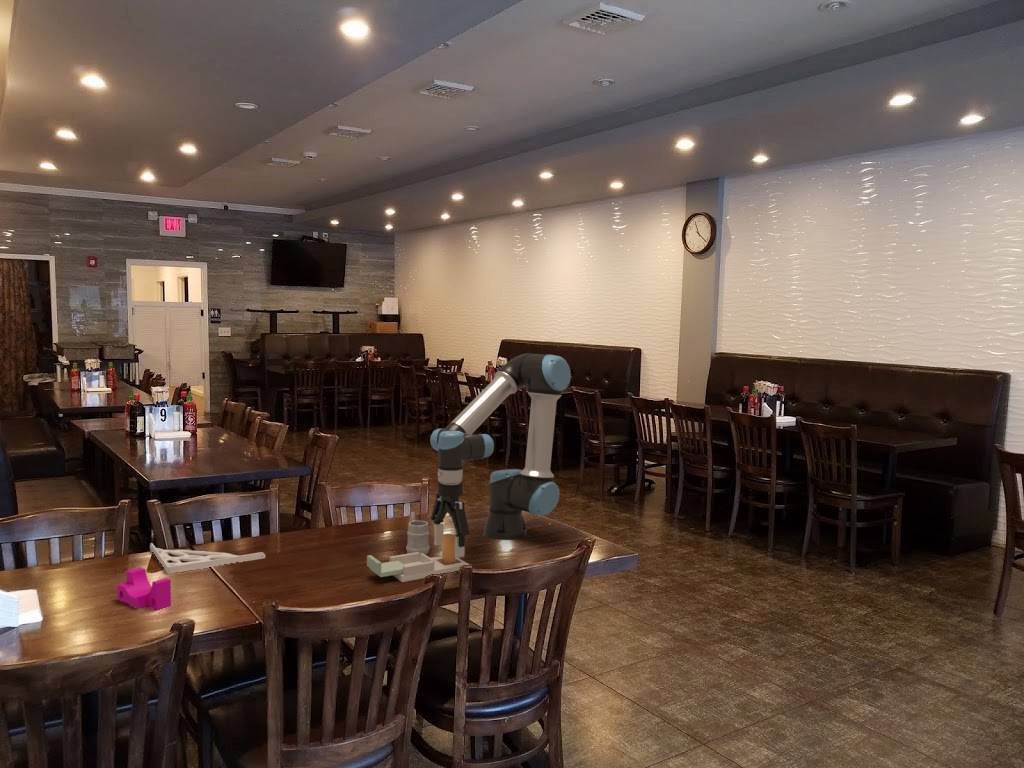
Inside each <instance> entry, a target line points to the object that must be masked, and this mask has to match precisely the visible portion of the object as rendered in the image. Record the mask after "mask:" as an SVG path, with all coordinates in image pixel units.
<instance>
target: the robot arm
mask: <svg viewBox="0 0 1024 768" xmlns="http://www.w3.org/2000/svg"><path fill="white" fill-rule="evenodd" d="M571 375H572V374H571V368H570V366H569V363H567V360H566V359H565V358H563V357H562V356H560V355H554V354H543V353H542V354H541V353H529V352H528V353H522V354H519V355H518V356H515V357H514V358H512V359H511V360H509V361H507V362H506V363H505V364H504V365H502V367H500V368H499V369H498V371H496V372H495V374H494V376H493V377H494V379H492V380H491V382H490V383H489V384H488V385H487V386H486V387H485V388H484V389H482V390H481V391H480V393H478V394H477V396H475V397H474V398H473V400H471V402H470V403H469V404H468V405H466V407H464V409H463V410H462V411H461V412H460V413H459V414H458V415H457V416H456V417H455V418H454V419H453V420H452V421H451V422H450V423H449V424H448V425H447V426H446V427H445V428H444V427H443V428H437V429H434V430H433V431H432V433H431V435H430V440H429V441H430V445H431V448H432V449H434V450H435V451H437V454H438V455H437V458H438V459H437V473H436V474H437V481H438V483H437V493H436V494H435V501H434V504H433V505H434V506H433V508H432V512H431V516H430V520H431V521H433V524H434V542H433V543H434V546H440V545H443V535H444V528H445V527H444V523H445V522H444V519H445V518H446V516H447V514H448V515H449V517H451V520H452V522H453V523H452V524H453V526H454V529H455V532H456V534H455V535H456V540H455V557H456V558H464V557H465V549H466V548H465V547H466V546H465V542H466V536H470V530H469V525H468V519H467V514H466V511H465V502H464V501H460V500H459V497H460V496H462V495H463V487H464V486H463V483H462V482H463V480H464V479H463V478H464V462H467V461H473V460H483V459H484V458H485V459H486V458H489V457H490V456H492V454H493V453H494V447H495V443H494V440H493V438H492V437H491V436H490V434H486V433H483V434H482V433H478V434H473V433H474V432H475V431H476V430H477V429H478V428H479V427H480V426H481V425H482V424H483V423H484V422H485V421H486V420H487V419H488V417H490V415H491V414H493V412H494V411H496V409H497V408H498V407H499V406H500V405H501V404H502V403H503V402H504V401H505V400H506V398H507V397H509V396H510V395H513V394H516V393H517V391H519V390H520V389H522V388H527V394H528V396H529V397H530V399H531V400H530V401H531V402H530V410H529V411H530V412H529V422H528V423H529V424H528V431H527V432H528V435H527V445H526V454H525V455H526V456H525V463H524V465H525V466H524V468H523V469H519V468H510V469H501V470H496V471H493V472H491V474H490V476H489V484H488V485H489V489H488V490H489V492H488V493H489V498H488V500H489V507H488V509H489V511H488V516H487V518H486V521H485V525H484V526H483V527H484V528H483V536H485V537H486V536H487V538H488V539H494V540H499V541H500V540H501V541H512V540H513V541H514V540H519V539H520V540H521V539H522V538H525V537H526V536H527V526H526V522H525V518H524V516H523V512H525V513H530V514H532V515H538V516H546V515H548V514H550V513H552V512H553V510H554V509H555V508H556V507H557V504H558V503H559V500H560V488H559V486H558V485H557V483H555V481H554V480H555V479H554V478H555V475H554V474H553V472H552V470H551V466H552V465H551V464H552V456H553V455H552V454H553V453H552V452H553V443H554V433H555V432H554V431H555V424H556V423H555V422H556V421H555V419H556V411H557V402H558V400H559V399H561V397H562V396H563V395H562V394H563V391H564V390H566V389H567V388H569V387H568V385H570V382H571V377H572V376H571Z"/></svg>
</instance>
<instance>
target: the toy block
mask: <svg viewBox="0 0 1024 768" xmlns="http://www.w3.org/2000/svg"><path fill="white" fill-rule="evenodd" d="M125 572H126V573H125V575H126V581H125V582H121V583H118V584H116V587H117V588H116V590H117V591H116V592H117V593H116V595H117V601H118V600H121V601H123V602H125V603H127V604H129V605H131V606H133V607H136V608H137V609H136V608H135V609H136V610H140V609H139V608H141V609H144V608H143V607H145V606H149V607H151V608H150V609H152V608H153V609H152V610H154V609H155V610H154V611H156V610H158V611H161V610H160V609H162V610H164V609H163V608H165V609H167V608H166V607H168V608H170V607H169V606H171V607H172V590H171V587H172V586H171V583H172V582H171V579H170V578H168V577H165V578H161V579H157V580H154V581H151V583H150V582H149V579H148V576H147V571H146V568H143V567H135V568H132V569H128V570H126V571H125ZM123 602H122V603H123ZM125 603H124V604H125ZM127 604H126V605H127ZM129 605H128V606H129ZM131 606H130V607H131ZM133 607H132V608H133ZM149 607H148V608H149ZM145 608H146V607H145Z"/></svg>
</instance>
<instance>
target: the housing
mask: <svg viewBox="0 0 1024 768" xmlns="http://www.w3.org/2000/svg"><path fill="white" fill-rule="evenodd" d="M392 561H399V562H401V563H402V564H404V565H405V566H403V573H401V574H396V575H392V577H394V578H396V579H397V580H398V581H400V582H401V583H406V582H411V581H417V580H421V579H426V578H425V577H426V576H428V575H431V574H440V573H447V572H454V571H459V569H460V567H461V566H462V565H469V566H470V563H467V562H466V561H464V560H462V559H461V558H460V557H458V558H456V557H455V564H451V565H443V564H442V555H439V556H434V557H433V556H432V557H430V556H428V555H427V554H426V555H425V554H423V553H419V552H415V553H409V554H408V553H405V554H404V553H403V554H399V555H392V556H389V561H388V562H392ZM459 572H460V571H459ZM454 573H455V572H454Z"/></svg>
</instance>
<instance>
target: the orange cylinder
mask: <svg viewBox="0 0 1024 768" xmlns="http://www.w3.org/2000/svg"><path fill="white" fill-rule="evenodd" d="M455 540H456V534H453V533H443V544H442V548H441V549H442V550H441V551H442V553H441V556H442V564H443V565H451V564H455Z"/></svg>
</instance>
